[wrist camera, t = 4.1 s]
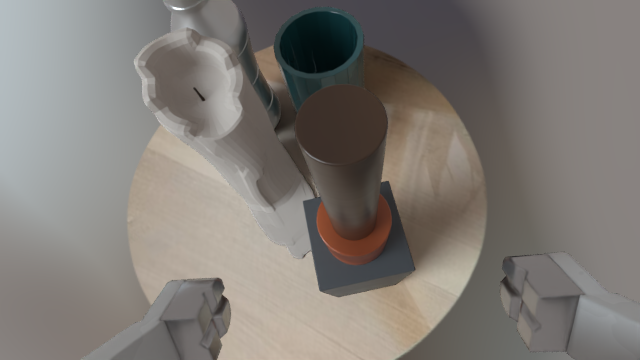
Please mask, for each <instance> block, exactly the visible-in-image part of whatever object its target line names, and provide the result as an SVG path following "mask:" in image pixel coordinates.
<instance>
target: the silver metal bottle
mask: <svg viewBox="0 0 640 360" xmlns="http://www.w3.org/2000/svg"><path fill="white" fill-rule="evenodd" d="M163 2H164V4H165V5H166V7H167V8H168V10H170V11H171V12H172V16H171V32H173V31H176V30H178V29H182V28H186V27H188V28H191V29H193V30H196V31H197V32H198V33H199V34H200V35H203V36H206V37H210V38H215V39H218V40H221V41H223V42H224V43H226V44H227V45H228V46H229V47H231V48H232V49H233V50H234V51H235V53H236V56H237V58H238V60H239V62H240V63H241V65H242V67H243V69H244V71H245V73H246V75H247V77H248V79H249V81H250V83H251V85H252V87H253V88H254V90H255V92H256V94H257V95H258V97H259V99H260V101H261V102H262V104H263V106H264V108H265V110H266V112H267V115H268V117H269V119H270V122H271V124H272V126H273V129H274V128H275V127H276V126H277V124H278V122H279V120H280V116H281V109H280V103H279V99H278V97H277V95H276V93H275V92H274V90H273V89H272V88H271V86H270V85H269V84H268V83H267V81H266V80H265V78H264V76H263V74H262V73H261V71H260V69H259V66H258V64H257V61H256V58H255V55H254V53H253V50H252V46H251V42H250V38H249V33H248V29H247V25H246V22H245V20H244V17H243V14H242V12H241V11H240V10H239V9H238V8H237V6H236V5H235V4H234V3H233V2H232V1H231V0H163Z"/></svg>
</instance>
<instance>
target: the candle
mask: <svg viewBox="0 0 640 360" xmlns="http://www.w3.org/2000/svg"><path fill="white" fill-rule="evenodd" d="M134 64H135V67H136V71H137V72H138V74H139V75H140V77H141V78H142V85H143V89H142V95H143V100H144V102H145V104H146V105H147V106H148V107H149V108H150V110H151V111H152V112H153V114H154V115H155V116H156V118H157V119H158V121H159V122H160V124H161V125H162V126H163V127H164V128H165V129H167V130H168V131H169V132H171V133H172V134H173V135H174V136H176V137H177V138H179V139H180V140H181V141H183V142H184V143H185V144H187V145H188V146H190V147H191V148H193V149H194V150H195V151H197V152H198V153H199V154H201V155H202V156H203V157H204V158H205V159H206V160H208V161H209V162H210V163H211V164H212V165H213V166H214V168H215V169H216V170H217V171H218V172H219V173H220V174H221V176H222V177H223V178H224V179H225V180H226V182H227V183H228V184H229V185H230V186H231V187H232V188H233V189H234V190H235V191H236V192H237V193H238V194H239V195H240V196H241V197H242V198H243V199H244V200H245V202H246V203H247V205H248V207H249V209H250V211H251V213H252V215H253V217H254V218H255V220H256V222H257V224H258V225H259V227H260V228H261V229H262V230H263V232H264V233H265V234H266V236H267V237H268V238H269V239H270V240H271V241H273V242H274V243H276V244H278V245H285V246H286V248H287V250H288V251H289V253H290V254H291V255H292V256H293V257H294V258H298V259H301V258H303V256H304V254H306V253H307V252H309V251H311V250H312V249H311V244H310V238H309V233H308V228H307V223H306V218H305V212H304V207H303V201H305V200H309V199H313V198H315V196H314V194H313V191H312V189H311V188H310V186H309V185H308V183H307V182H306V180H305V178H304V177H303V176H302V174H301V173H300V172H299V170H298V169H297V167H296V165H295V163H294V162H293V160H292V158H291V156H290V155H289V153H288V152H287V151H286V149H285V148H284V147H283V145H282V144H281V142H280V141H279V139H278V137H277V135H276V133H275V131H274V129H273V126H272V124H271V122H270V119H269V117H268V115H267V112H266V110H265V108H264V106H263V104H262V102H261V101H260V99H259V97H258V95H257V94H256V92H255V90H254V88H253V87H252V85H251V83H250V81H249V79H248V77H247V75H246V73H245V71H244V69H243V67H242V65H241V63H240V62H239V60H238V58H237V56H236V53H235V51H234V50H233V49H232V48H231V47H229V46H228V45H227V44H226V43H224V42H223V41H221V40H218V39H215V38H210V37H206V36H203V35H200V34H199V33H198V32H197V31H196V30H193V29H191V28H188V27H186V28H182V29H178V30H176V31H173V32H170V33H168V34H166V35H164V36H162V37H160V38H157V39H156V40H154V41H152V42H151V43H149V44H148V45H147V46H145V47H144V48H143V49H142V50H141V52H140V53H139V54H138V55H137V57H136V58H135V60H134Z"/></svg>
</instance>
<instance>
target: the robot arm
mask: <svg viewBox="0 0 640 360" xmlns="http://www.w3.org/2000/svg"><path fill="white" fill-rule="evenodd" d="M502 270H503V271H504V273H505V274H506V277H505V278H504V279H503V280H502V281H501V283H500V295H501V300H502V304H503V306H504V309H505V311H506V312H507V314H508V316H509V317H510V318H512V319H513V320H515V321H517V322H518V327H517V331H518V333H519V335H520V336H521V338H522V340H523V341H524V343H525V344H526V346H527V348H528V349H529V351H530V352H564V351H565V352H567V354H568V355H570V356H571V357H572V358H573V359H575V360H640V303H638V302H636V301H634V300H631V299H629V298H627V297H625V296H622V295H620V294H618V293H612V294H611V293H609V292H608V291H607V290H606V289H605V288H604V287H603V286H602V285H601V284H600V283H599V282H598V281H597V280H596V279H595V278H594V277H592V275H590V274H589V273H588V272H587V271H586V270H585V269H584V268H583V267H582V266H581V265H580V264H579V263H578V262H577V261H576V260H575V259H574V258H573V257H572V256H571V255H570V254H568V253H566V252H554V253H544V254H540V255H539V254H538V255H525V256H512V257H505V258H504V260H503V265H502ZM224 289H225V288H224V285H223V282H222V279H220V278H202V279H187V280H172V281H170V282H168V283H167V284H166V285H165V287H164V288H163V290H162V291H161V293H160V294H159V296H158V297H157V299H156V300H155V301H154V303H153V304H152V306H151V307H150V309H149V310H148V312H147V313H146V315H145V316H144V318H143V319H142V321H141V322H135V323H134V324H132V325H131V326H129V327H128V328H126V329H125V330H123V331H122V332H121V333H119V334H118V335H116V336H114V337H113V338H112V339H110V340H109V341H107V342H106V343H104V344H103V345H101V346H100V347H98V348H97V349H95V350H94V351H92V352H91V353H89V354H88V355H87V356H85V357H84V358H82V359H81V360H217V358H218V355H219V353H220V350H221V347H222V344H221V341H220V338H221V337H222V336H224V335H225V334H226V333H227V331H228V328H229V325H230V319H231V309H230V304H229V300H228V299H227V298H226V297H224V296H223V295H222V293H223V291H224Z"/></svg>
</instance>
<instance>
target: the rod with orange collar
mask: <svg viewBox="0 0 640 360" xmlns="http://www.w3.org/2000/svg"><path fill="white" fill-rule="evenodd" d="M387 129H388V118H387V113H386V111H385V108H384V106H383V105H382V103H381V102H380V100H379V99H378V98H377V97H376V96H375V95H374V94H373V93H371V92H370V91H368V90H366V89H364V88H362V87H359V86H356V85H350V84H336V85H331V86H328V87H325V88H322V89H320V90H318V91H316V92H315V93H313V94H312V95H311V96H310V97H308V98H307V99H306V100H305V102H304V103H303V104H302V106H301V107H300V109H299V111H298V113H297V116H296V120H295V136H296V139H297V142H298V144H299V147H300V149H301V151H302V154H303V156H304V159H305V161H306V163H307V166H308V168H309V171H310V173H311V176H312V178H313V180H314V183H315V185H316V188H317V190H318V192H319V195H320V197H321V200H322V202H321V204H320V206H319V208H318V212H317V228H318V232H319V234H320V236H321V238H322V240H323V241H324V243H325V244H326V246H327V247H328V249H329V251H330V252H331V253H332V254H333V256H335V257H336V258H337V259H338V260H340V261H342V262H344V263H346V264H350V265H363V264H367V263H369V262H371V261H373V260H374V259H376V258H377V257H378V256H379V255H380V254H381V253H382V251H383V249H384V247H385V245H386V242H387V239H388V236H389V233H390V230H391V225H392V216H391V211H390V208H389V205H388V203H387V201H386V200H385V199H384V197H383V196H382V195H381V194H380V187H381V179H382V170H383V162H384V154H385V146H386V138H387Z"/></svg>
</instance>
